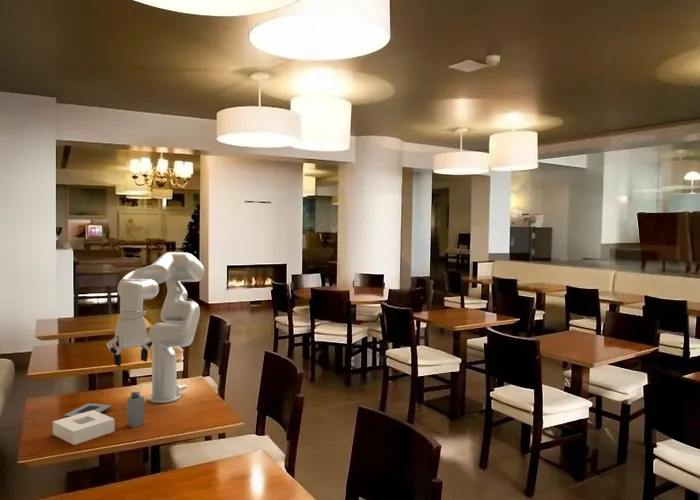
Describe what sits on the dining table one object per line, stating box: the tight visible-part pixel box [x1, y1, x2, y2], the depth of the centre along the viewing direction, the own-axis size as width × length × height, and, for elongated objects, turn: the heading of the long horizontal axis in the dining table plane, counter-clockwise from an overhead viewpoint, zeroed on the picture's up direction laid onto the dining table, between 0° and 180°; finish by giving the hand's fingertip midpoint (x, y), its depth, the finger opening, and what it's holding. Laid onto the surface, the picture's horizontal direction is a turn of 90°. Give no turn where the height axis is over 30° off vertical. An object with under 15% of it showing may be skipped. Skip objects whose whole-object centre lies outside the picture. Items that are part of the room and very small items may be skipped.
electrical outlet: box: [63, 402, 113, 418], centre depth 196 cm, size 13×10×2 cm
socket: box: [52, 410, 116, 446], centre depth 179 cm, size 14×14×4 cm
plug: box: [126, 391, 145, 429], centre depth 187 cm, size 4×4×12 cm
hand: (131, 363), depth 186 cm, fingers open, 9 cm apart
